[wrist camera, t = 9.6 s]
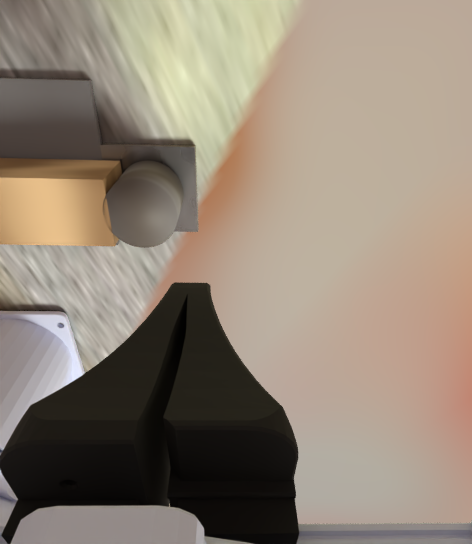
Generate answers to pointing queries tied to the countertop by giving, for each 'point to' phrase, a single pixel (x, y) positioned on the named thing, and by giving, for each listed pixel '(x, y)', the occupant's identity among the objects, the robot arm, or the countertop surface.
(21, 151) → the seat mat
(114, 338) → the countertop surface
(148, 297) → the countertop surface
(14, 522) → the robot arm
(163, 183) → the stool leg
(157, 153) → the hinge bracket
